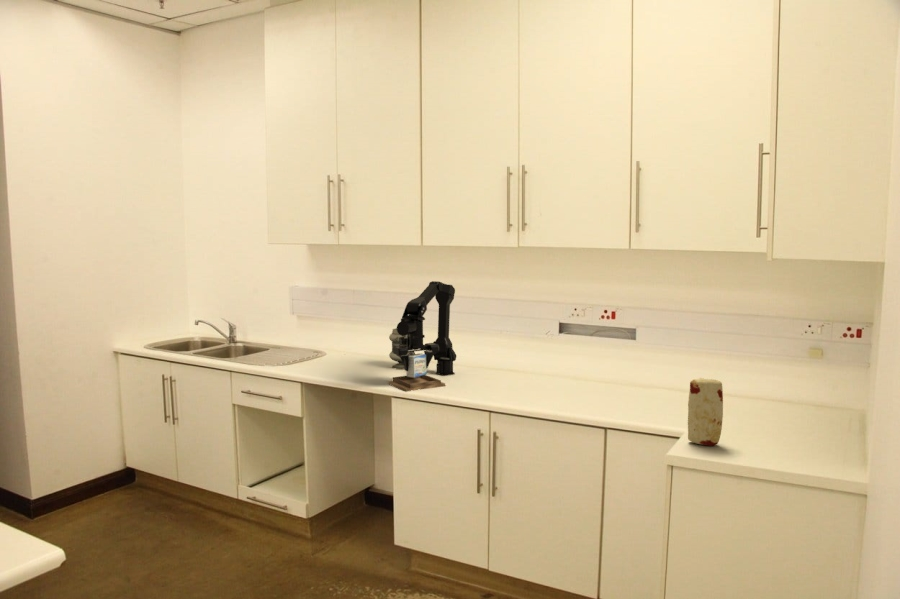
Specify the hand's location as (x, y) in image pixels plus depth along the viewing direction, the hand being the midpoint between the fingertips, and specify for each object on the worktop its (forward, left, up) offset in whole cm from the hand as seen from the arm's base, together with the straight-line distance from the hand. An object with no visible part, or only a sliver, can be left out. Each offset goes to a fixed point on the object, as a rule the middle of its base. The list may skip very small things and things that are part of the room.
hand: (416, 369), depth 289 cm
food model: (-35, +116, -7) cm, 121 cm away
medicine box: (0, 0, -3) cm, 3 cm away
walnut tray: (0, 0, -6) cm, 6 cm away
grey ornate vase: (-12, -36, -7) cm, 39 cm away
